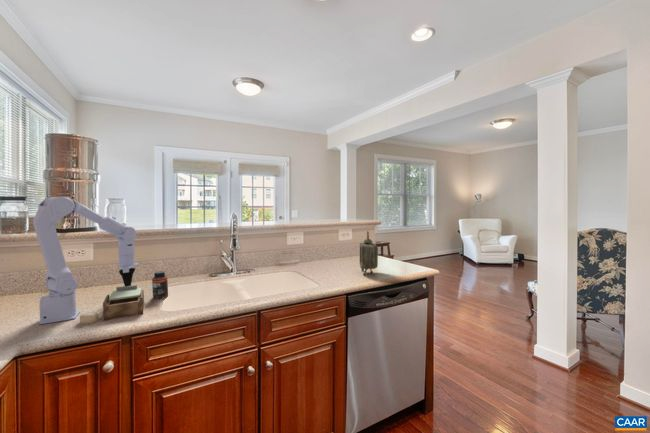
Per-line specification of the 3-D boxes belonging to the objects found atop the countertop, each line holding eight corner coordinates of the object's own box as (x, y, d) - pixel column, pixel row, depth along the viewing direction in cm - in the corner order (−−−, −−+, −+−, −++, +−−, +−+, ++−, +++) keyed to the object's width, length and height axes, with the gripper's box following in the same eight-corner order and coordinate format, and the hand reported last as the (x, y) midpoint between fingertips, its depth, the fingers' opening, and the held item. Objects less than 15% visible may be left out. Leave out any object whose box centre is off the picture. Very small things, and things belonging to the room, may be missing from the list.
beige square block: (78, 325, 99) (78, 318, 99) (81, 320, 103) (81, 313, 103) (96, 322, 101) (96, 315, 101) (99, 317, 106) (98, 310, 106)
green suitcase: (359, 270, 177) (359, 229, 176) (374, 270, 177) (374, 230, 176) (361, 276, 163) (361, 232, 162) (377, 276, 163) (378, 232, 161)
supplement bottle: (164, 294, 133) (164, 269, 132) (170, 296, 129) (169, 271, 128) (150, 297, 128) (149, 272, 127) (155, 300, 124) (155, 274, 124)
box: (103, 320, 103) (102, 303, 103) (107, 310, 113) (107, 294, 112) (143, 313, 109) (142, 297, 109) (144, 304, 119) (143, 289, 118)
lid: (108, 300, 109) (108, 295, 109) (112, 292, 118) (112, 287, 118) (140, 296, 114) (139, 291, 114) (141, 289, 123) (141, 284, 123)
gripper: (137, 256, 120) (138, 288, 121) (138, 251, 132) (139, 280, 133) (116, 258, 116) (117, 291, 117) (119, 252, 129) (121, 282, 129)
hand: (127, 285), depth 125 cm, fingers closed
